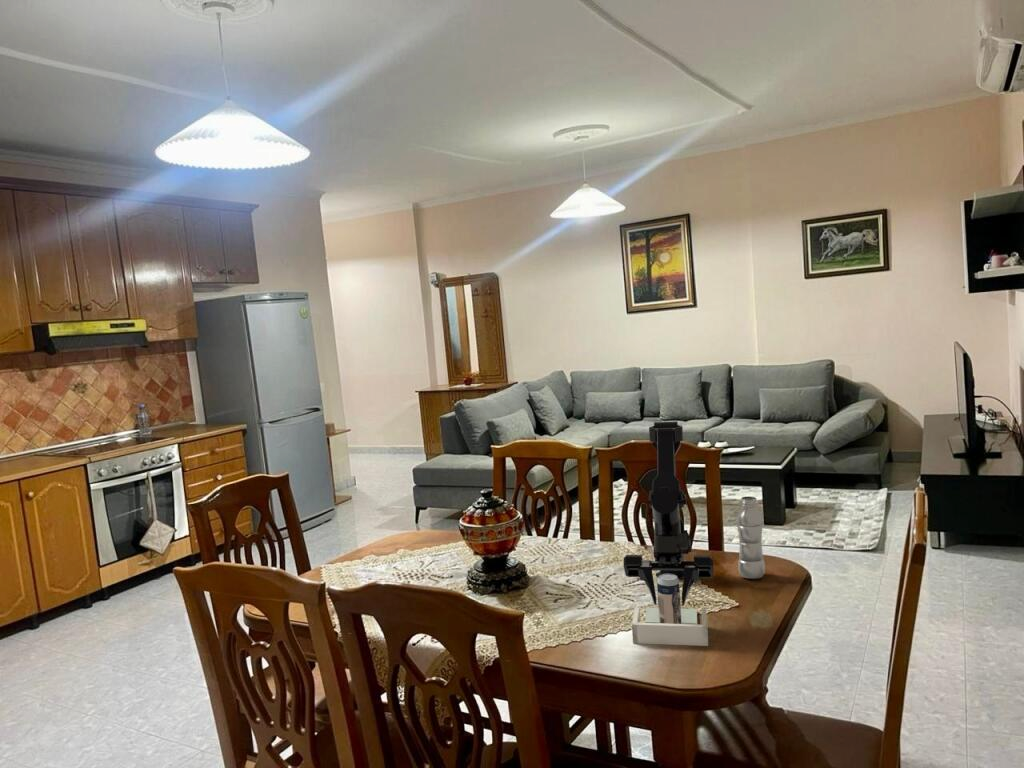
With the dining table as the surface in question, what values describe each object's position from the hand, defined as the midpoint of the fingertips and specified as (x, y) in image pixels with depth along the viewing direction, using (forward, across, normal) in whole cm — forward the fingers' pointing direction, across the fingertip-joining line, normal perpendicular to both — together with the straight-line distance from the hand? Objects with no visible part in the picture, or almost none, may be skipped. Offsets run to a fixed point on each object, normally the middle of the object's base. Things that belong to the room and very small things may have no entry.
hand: (669, 604), depth 153 cm
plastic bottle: (-19, +19, +29) cm, 40 cm away
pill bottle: (+4, 0, +6) cm, 7 cm away
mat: (-1, 0, +11) cm, 11 cm away
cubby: (+5, 0, +5) cm, 7 cm away
